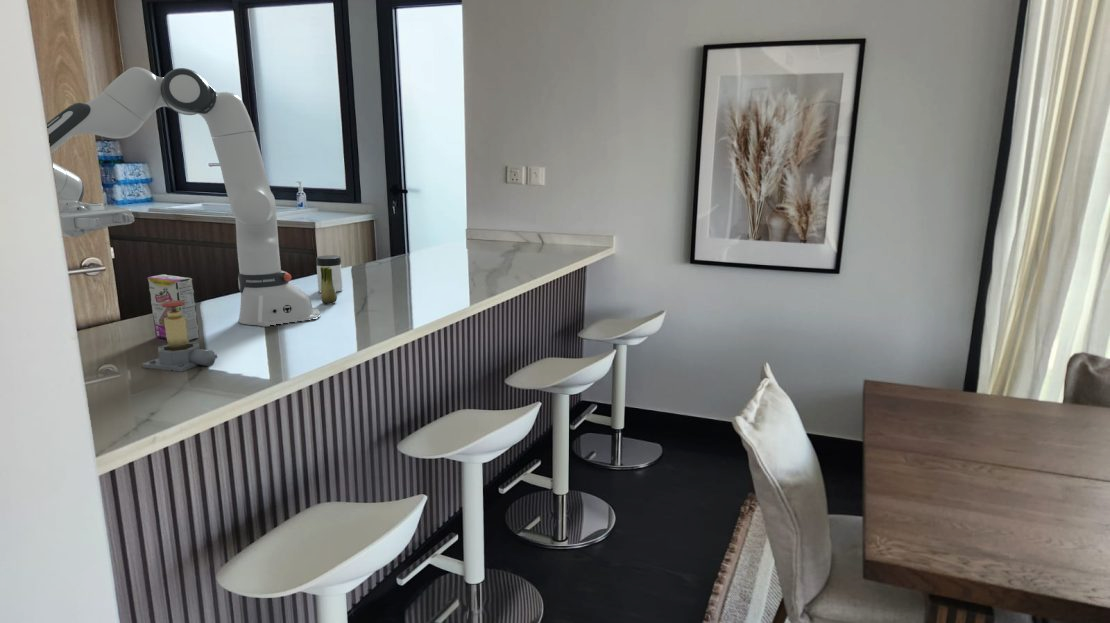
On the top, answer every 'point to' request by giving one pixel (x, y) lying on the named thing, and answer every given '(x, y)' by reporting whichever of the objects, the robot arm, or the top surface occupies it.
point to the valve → (176, 327)
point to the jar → (335, 265)
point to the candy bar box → (172, 290)
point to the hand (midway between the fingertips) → (115, 220)
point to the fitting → (181, 358)
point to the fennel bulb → (327, 286)
